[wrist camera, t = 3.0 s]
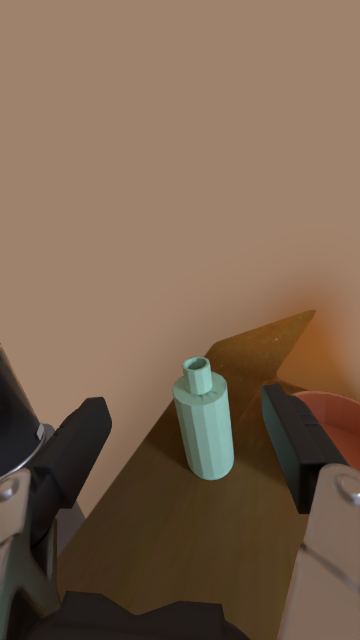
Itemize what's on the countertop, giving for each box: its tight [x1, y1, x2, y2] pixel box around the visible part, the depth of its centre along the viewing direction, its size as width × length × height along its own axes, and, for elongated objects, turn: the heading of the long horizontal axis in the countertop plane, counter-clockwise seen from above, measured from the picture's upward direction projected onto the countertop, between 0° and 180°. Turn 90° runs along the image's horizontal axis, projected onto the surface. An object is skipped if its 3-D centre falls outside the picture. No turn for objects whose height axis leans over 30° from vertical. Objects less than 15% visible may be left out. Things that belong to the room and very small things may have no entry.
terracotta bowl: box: [292, 390, 360, 472], centre depth 22 cm, size 11×11×6 cm
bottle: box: [172, 357, 234, 480], centre depth 24 cm, size 6×6×14 cm
